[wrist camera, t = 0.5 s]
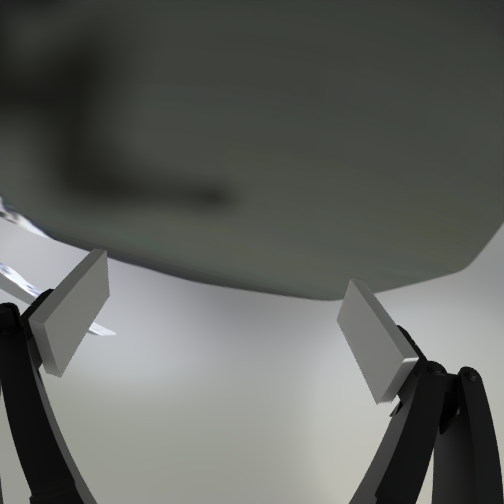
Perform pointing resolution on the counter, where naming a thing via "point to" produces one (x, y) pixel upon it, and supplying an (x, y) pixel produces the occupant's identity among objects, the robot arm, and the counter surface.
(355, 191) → the counter surface
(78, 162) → the counter surface
